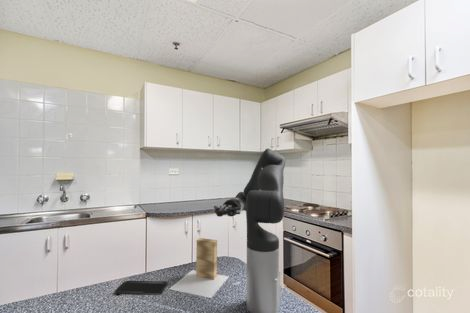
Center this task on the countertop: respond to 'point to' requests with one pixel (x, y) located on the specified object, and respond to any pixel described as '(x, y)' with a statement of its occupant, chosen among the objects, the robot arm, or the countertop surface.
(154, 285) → the phone
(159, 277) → the countertop surface
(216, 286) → the white square pad
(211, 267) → the brown flat rectangular block
